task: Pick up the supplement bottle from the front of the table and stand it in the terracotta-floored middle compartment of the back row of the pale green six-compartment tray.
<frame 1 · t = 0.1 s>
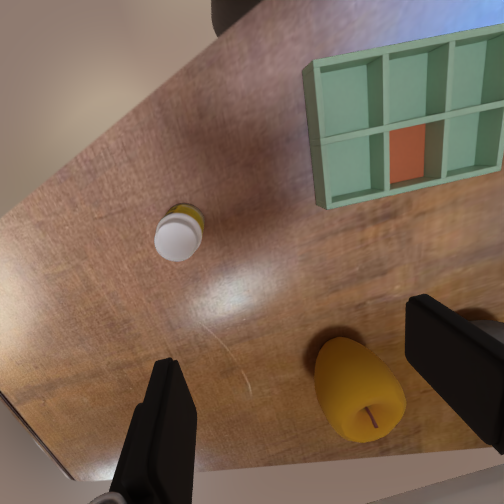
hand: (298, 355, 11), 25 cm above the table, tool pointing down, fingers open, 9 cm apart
apple: (332, 350, 43), on the table
supplement bottle: (185, 221, 33), on the table
bowl: (454, 341, 46), on the table
tray: (397, 125, 32), on the table
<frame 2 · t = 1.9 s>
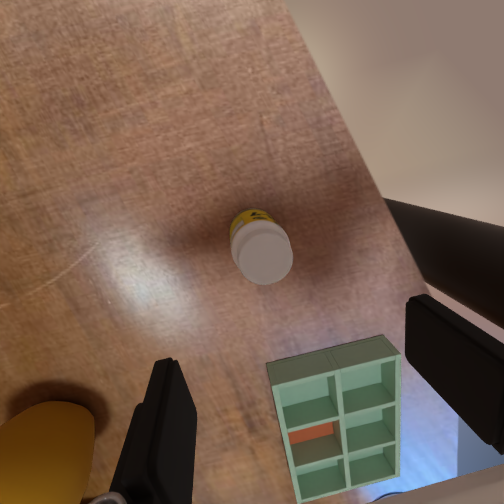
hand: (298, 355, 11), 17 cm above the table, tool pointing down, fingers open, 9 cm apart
apple: (66, 411, 32), on the table
supplement bottle: (252, 230, 27), on the table
tray: (332, 412, 37), on the table
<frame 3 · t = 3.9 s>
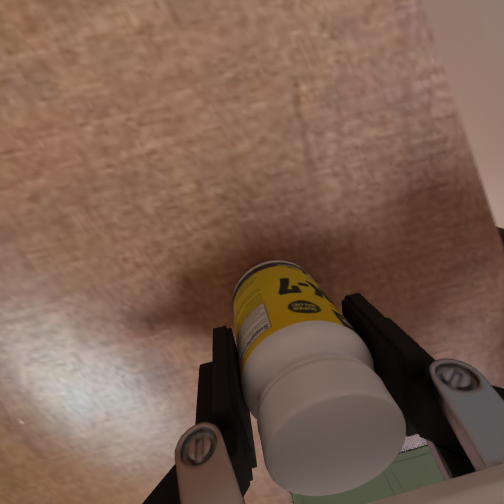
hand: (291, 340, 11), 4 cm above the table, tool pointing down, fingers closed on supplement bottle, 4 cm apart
supplement bottle: (272, 295, 15), on the table, touching gripper
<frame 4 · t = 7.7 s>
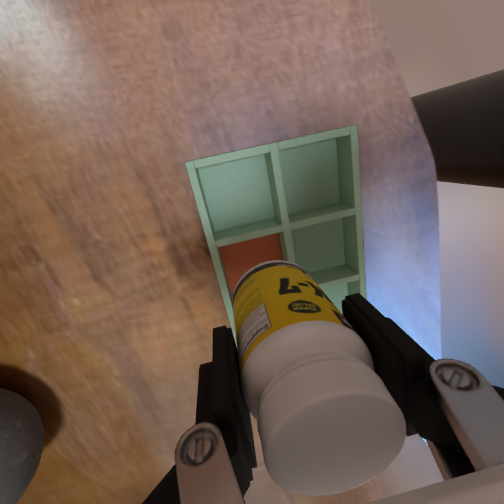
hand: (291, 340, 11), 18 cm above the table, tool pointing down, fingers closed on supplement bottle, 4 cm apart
supplement bottle: (272, 295, 15), point 14 cm above the table, touching gripper
bottle: (362, 396, 40), on the table
tray: (283, 250, 30), on the table
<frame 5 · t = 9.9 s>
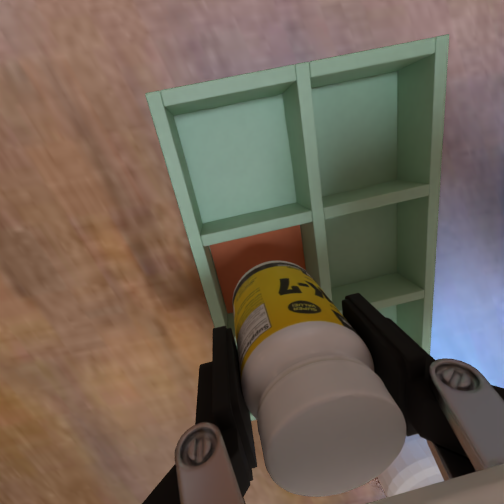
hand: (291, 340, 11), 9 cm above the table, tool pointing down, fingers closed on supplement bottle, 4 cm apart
supplement bottle: (272, 295, 15), point 5 cm above the table, touching gripper
bottle: (402, 447, 30), on the table
tray: (306, 251, 20), on the table
when the fingers open (4 cm above the table, at t = 11.4 s): supplement bottle stays where it is, resting on tray.
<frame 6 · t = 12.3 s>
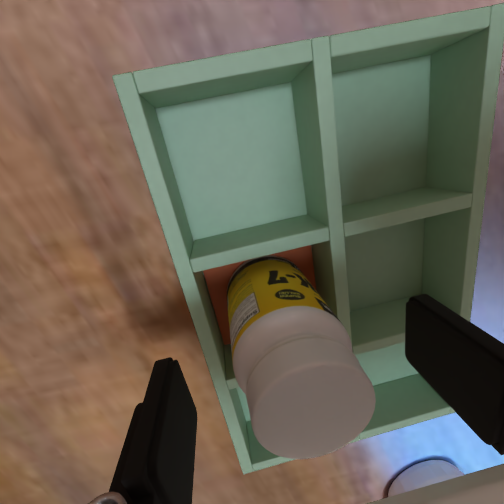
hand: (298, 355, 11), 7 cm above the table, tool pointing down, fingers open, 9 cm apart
supplement bottle: (264, 288, 16), point 1 cm above the table, touching tray
bottle: (419, 480, 27), on the table
tray: (317, 271, 17), on the table
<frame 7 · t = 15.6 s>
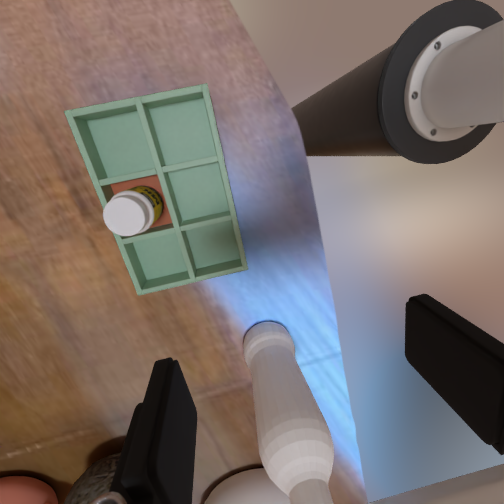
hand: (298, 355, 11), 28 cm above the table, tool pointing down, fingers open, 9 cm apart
pot: (254, 496, 59), on the table
teapot: (25, 493, 50), on the table
supplement bottle: (145, 203, 34), point 1 cm above the table, touching tray
bottle: (265, 338, 45), on the table
vase: (136, 459, 50), on the table
tray: (172, 197, 35), on the table
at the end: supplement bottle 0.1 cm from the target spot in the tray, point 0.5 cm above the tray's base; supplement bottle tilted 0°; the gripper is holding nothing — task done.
